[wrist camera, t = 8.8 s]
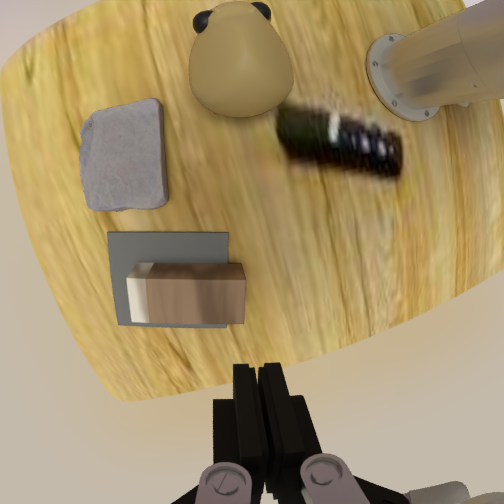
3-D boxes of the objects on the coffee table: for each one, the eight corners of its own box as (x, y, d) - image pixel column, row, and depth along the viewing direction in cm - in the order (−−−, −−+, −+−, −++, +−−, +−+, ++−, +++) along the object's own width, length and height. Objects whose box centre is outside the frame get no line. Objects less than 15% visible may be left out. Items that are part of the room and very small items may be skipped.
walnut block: (246, 279, 29) (126, 278, 28) (244, 324, 31) (131, 322, 29) (241, 263, 34) (137, 262, 32) (240, 303, 35) (141, 301, 34)
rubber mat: (228, 232, 33) (228, 233, 33) (226, 326, 36) (226, 328, 36) (108, 231, 31) (107, 232, 31) (118, 323, 35) (118, 325, 34)
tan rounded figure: (269, 26, 27) (292, -20, 17) (288, 118, 30) (321, 99, 20) (184, 36, 26) (174, -10, 16) (199, 131, 30) (192, 115, 19)
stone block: (102, 213, 32) (177, 204, 32) (80, 220, 28) (161, 210, 27) (95, 118, 29) (169, 99, 28) (72, 113, 25) (152, 89, 24)
